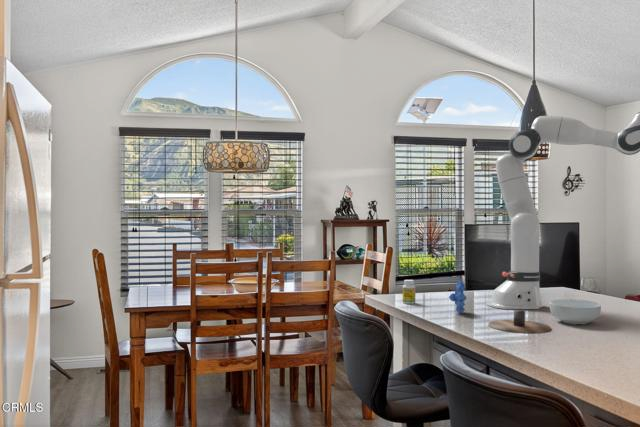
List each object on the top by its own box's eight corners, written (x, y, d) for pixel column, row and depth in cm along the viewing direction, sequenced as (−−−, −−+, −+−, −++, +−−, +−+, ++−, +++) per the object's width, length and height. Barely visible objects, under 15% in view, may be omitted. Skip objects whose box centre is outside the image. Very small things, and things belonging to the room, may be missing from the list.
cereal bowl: (538, 320, 217) (539, 300, 217) (573, 316, 223) (573, 298, 223) (575, 328, 201) (576, 307, 201) (611, 325, 208) (611, 304, 208)
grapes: (448, 309, 236) (448, 279, 236) (465, 310, 235) (466, 280, 235) (448, 315, 225) (449, 283, 225) (467, 316, 223) (467, 283, 223)
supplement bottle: (416, 302, 255) (416, 279, 255) (414, 304, 250) (414, 281, 250) (403, 301, 256) (403, 279, 256) (401, 303, 251) (401, 280, 251)
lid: (507, 335, 191) (507, 316, 191) (478, 323, 211) (478, 306, 211) (563, 333, 196) (563, 315, 196) (529, 321, 215) (529, 305, 215)
